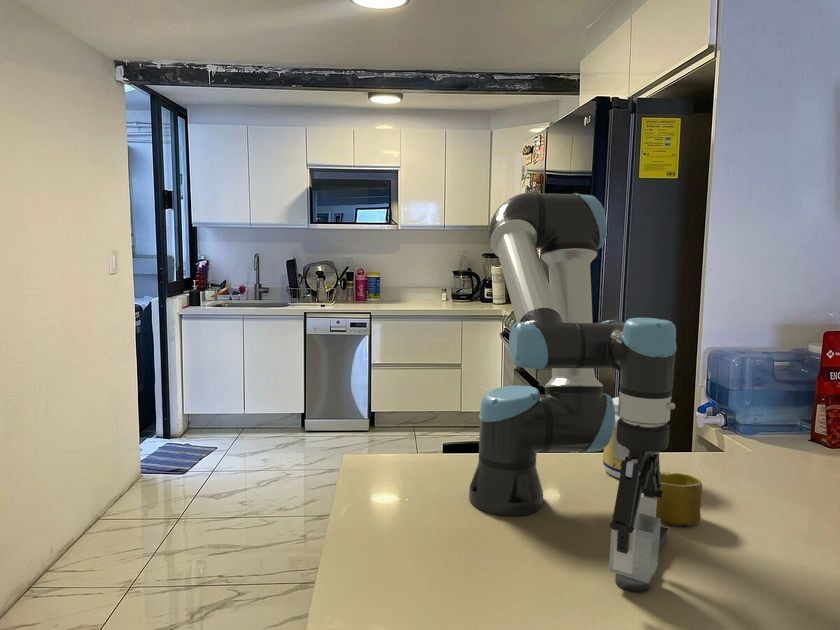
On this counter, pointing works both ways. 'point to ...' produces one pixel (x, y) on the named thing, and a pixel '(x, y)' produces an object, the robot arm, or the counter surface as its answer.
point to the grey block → (641, 548)
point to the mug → (679, 499)
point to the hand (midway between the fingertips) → (634, 551)
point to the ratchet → (637, 585)
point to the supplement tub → (614, 449)
